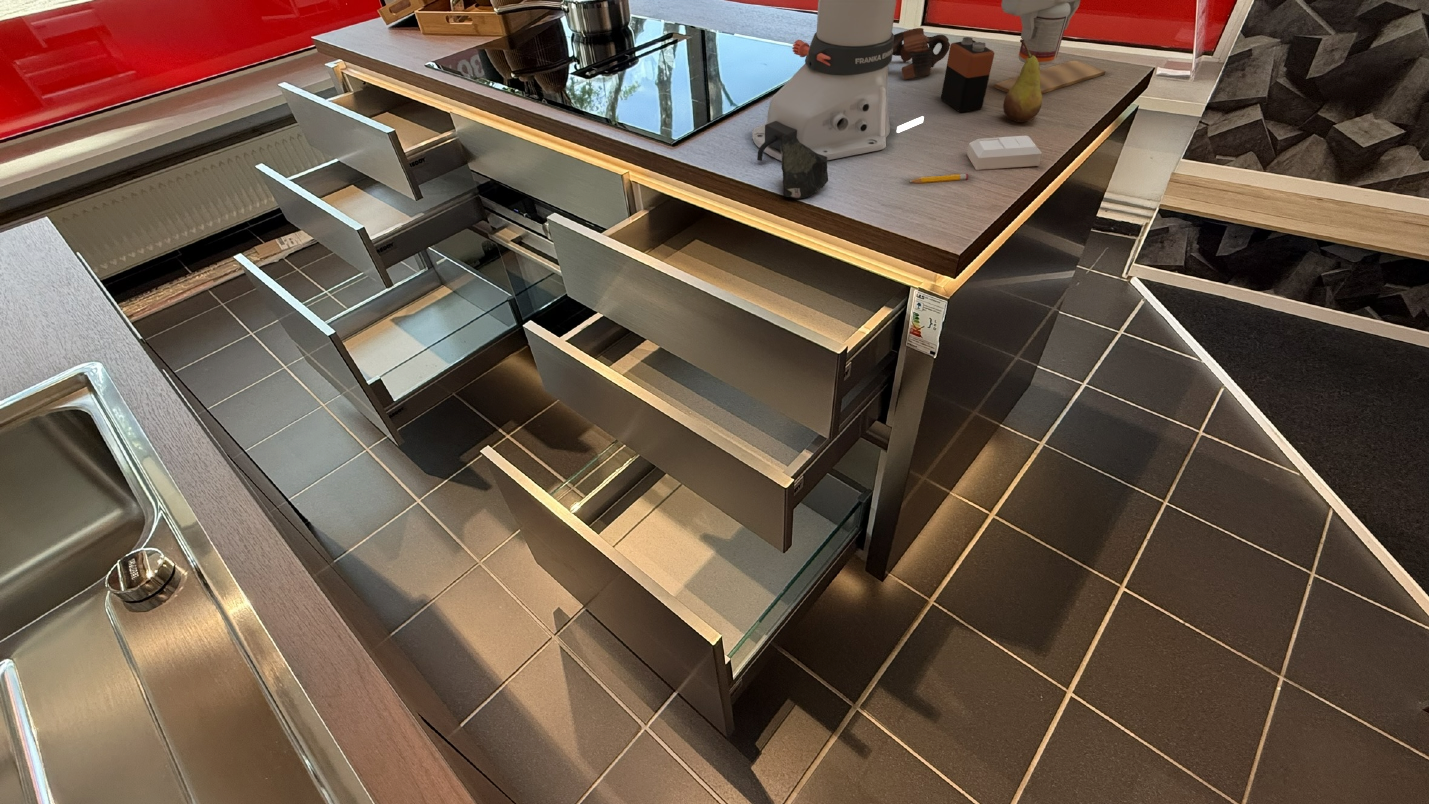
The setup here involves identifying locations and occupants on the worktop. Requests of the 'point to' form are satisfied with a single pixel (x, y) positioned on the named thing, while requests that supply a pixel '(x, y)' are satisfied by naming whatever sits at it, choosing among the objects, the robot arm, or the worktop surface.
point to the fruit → (1025, 92)
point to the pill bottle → (1047, 34)
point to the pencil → (940, 178)
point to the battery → (967, 75)
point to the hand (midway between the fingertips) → (1043, 34)
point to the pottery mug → (919, 51)
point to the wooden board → (1058, 76)
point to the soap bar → (1003, 152)
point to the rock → (801, 168)
